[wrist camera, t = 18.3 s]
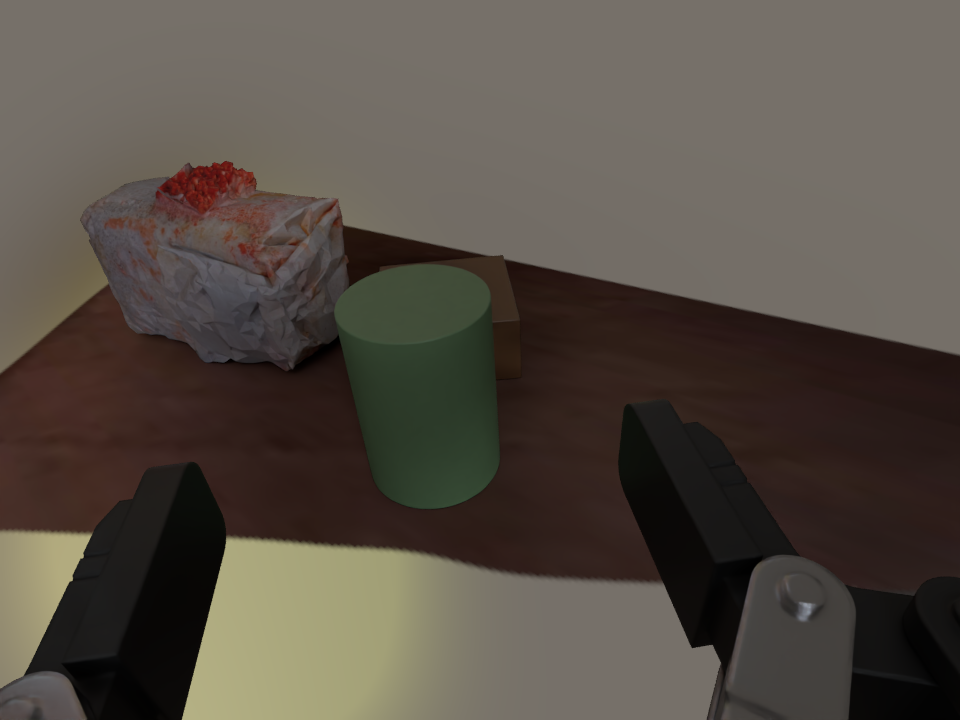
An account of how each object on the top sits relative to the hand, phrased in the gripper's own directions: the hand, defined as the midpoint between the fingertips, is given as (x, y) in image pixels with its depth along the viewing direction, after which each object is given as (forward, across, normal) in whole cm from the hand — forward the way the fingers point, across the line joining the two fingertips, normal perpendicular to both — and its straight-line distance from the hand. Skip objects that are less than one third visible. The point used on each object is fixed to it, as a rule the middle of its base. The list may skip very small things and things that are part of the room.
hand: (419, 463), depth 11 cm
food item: (+23, +10, +11) cm, 27 cm away
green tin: (+11, 0, +10) cm, 15 cm away
